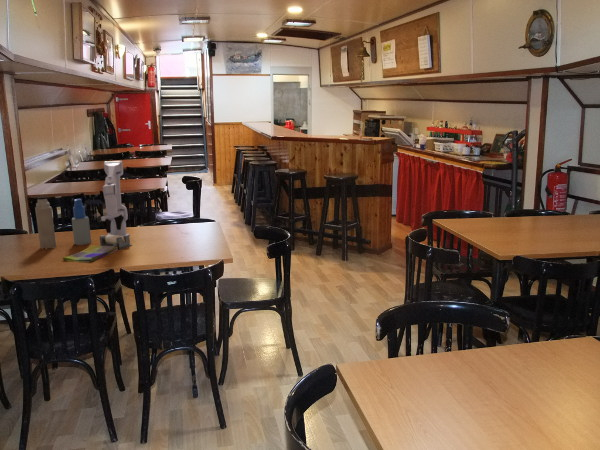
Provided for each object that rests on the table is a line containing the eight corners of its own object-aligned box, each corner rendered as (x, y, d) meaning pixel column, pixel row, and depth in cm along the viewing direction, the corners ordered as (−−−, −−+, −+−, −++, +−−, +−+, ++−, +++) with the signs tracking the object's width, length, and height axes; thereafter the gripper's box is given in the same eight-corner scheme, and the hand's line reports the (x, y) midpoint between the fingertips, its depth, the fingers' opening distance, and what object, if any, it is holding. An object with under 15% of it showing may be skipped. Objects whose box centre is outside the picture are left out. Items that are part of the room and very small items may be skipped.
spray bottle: (82, 240, 321) (78, 197, 316) (94, 241, 317) (90, 198, 312) (70, 244, 313) (65, 200, 308) (82, 245, 310) (77, 201, 304)
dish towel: (61, 261, 282) (60, 256, 281) (92, 249, 304) (91, 244, 304) (90, 264, 276) (89, 258, 276) (119, 250, 299) (119, 245, 298)
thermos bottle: (47, 245, 313) (41, 195, 306) (59, 245, 310) (53, 195, 304) (37, 248, 305) (30, 198, 299) (48, 249, 303) (42, 198, 297)
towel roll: (103, 244, 307) (101, 236, 305) (109, 241, 311) (108, 232, 310) (121, 246, 302) (119, 238, 300) (127, 243, 306) (126, 234, 304)
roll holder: (98, 247, 305) (97, 236, 304) (111, 243, 314) (110, 232, 312) (119, 249, 299) (118, 238, 298) (132, 245, 308) (131, 234, 306)
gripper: (107, 209, 293) (109, 234, 297) (126, 204, 306) (128, 228, 309) (97, 208, 296) (99, 233, 300) (116, 203, 309) (119, 227, 312)
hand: (113, 231), depth 305 cm, fingers open, 7 cm apart
